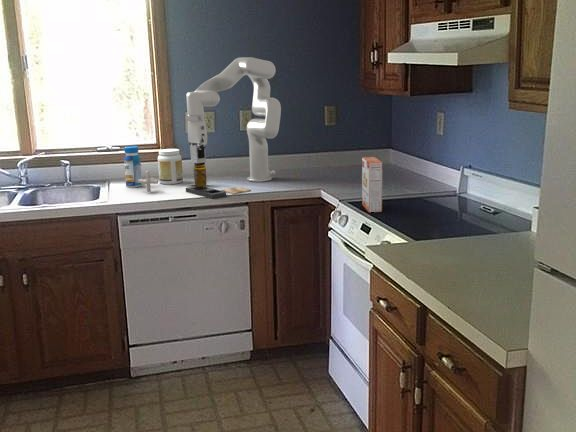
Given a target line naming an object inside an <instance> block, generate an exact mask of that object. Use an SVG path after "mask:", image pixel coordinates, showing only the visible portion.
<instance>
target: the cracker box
mask: <svg viewBox="0 0 576 432" xmlns="http://www.w3.org/2000/svg"><path fill="white" fill-rule="evenodd" d="M361 189H362V190H361V201H362V202H361V205H362V206H363V208H364V209H365V210H366V211H367V212H368V213H369V214H372V213H371V212H374V213H382V212H383V161H381V160H380V159H378V158H377V157H375V156H364V157H363V156H362V158H361Z"/></svg>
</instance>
